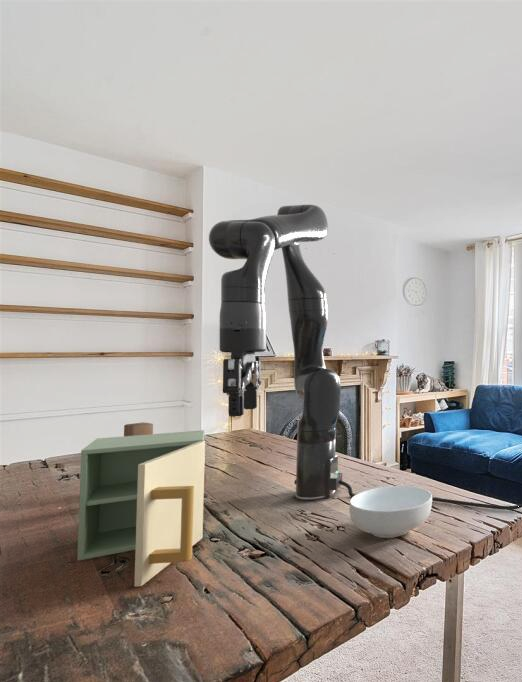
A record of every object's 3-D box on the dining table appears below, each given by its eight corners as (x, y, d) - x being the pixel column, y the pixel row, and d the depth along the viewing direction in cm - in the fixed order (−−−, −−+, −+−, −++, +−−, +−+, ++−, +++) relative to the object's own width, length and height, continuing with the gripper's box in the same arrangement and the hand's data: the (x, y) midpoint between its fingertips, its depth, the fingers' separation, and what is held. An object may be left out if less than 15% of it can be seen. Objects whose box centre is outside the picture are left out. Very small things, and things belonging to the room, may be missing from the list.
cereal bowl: (445, 521, 96) (446, 489, 96) (403, 554, 80) (404, 516, 80) (381, 510, 101) (382, 480, 101) (330, 540, 85) (331, 504, 86)
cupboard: (199, 537, 86) (202, 439, 86) (77, 561, 76) (81, 450, 76) (201, 517, 96) (204, 430, 96) (93, 536, 86) (96, 438, 86)
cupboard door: (234, 536, 86) (236, 440, 87) (181, 583, 69) (185, 463, 69) (197, 538, 85) (199, 441, 85) (134, 586, 68) (138, 464, 68)
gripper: (233, 328, 87) (233, 407, 87) (205, 325, 73) (205, 420, 73) (274, 328, 89) (274, 406, 89) (254, 325, 75) (255, 417, 75)
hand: (243, 412), depth 81 cm, fingers open, 8 cm apart
